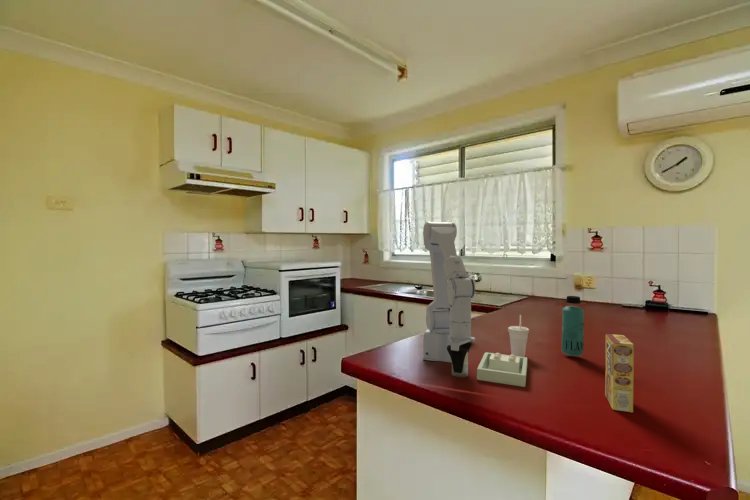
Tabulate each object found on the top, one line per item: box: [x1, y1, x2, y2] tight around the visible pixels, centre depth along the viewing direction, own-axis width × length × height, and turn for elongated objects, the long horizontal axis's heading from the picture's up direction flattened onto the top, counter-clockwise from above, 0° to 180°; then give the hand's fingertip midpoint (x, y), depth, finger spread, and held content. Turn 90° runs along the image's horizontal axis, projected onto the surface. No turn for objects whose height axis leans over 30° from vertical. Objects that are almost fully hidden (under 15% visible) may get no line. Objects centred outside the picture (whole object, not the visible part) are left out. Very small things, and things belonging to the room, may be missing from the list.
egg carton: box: [489, 352, 520, 373], centre depth 108 cm, size 8×5×4 cm, turn 66°
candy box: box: [604, 333, 635, 413], centre depth 86 cm, size 9×4×15 cm, turn 159°
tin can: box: [451, 351, 469, 378], centre depth 103 cm, size 4×4×7 cm
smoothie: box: [507, 314, 530, 357], centre depth 119 cm, size 6×6×14 cm
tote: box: [476, 351, 528, 388], centre depth 104 cm, size 12×16×4 cm
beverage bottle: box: [561, 295, 585, 357], centre depth 120 cm, size 6×7×20 cm
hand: (459, 369), depth 103 cm, fingers closed on tin can, 4 cm apart
